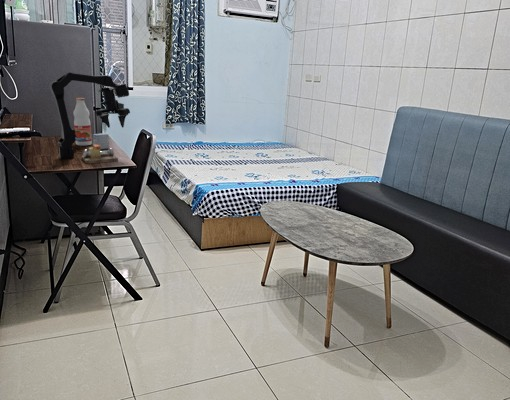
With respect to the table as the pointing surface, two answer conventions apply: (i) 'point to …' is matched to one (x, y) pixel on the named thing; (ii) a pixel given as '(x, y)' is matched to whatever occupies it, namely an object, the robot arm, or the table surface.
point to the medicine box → (101, 140)
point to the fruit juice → (82, 123)
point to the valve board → (100, 159)
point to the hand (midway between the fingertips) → (115, 127)
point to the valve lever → (96, 146)
